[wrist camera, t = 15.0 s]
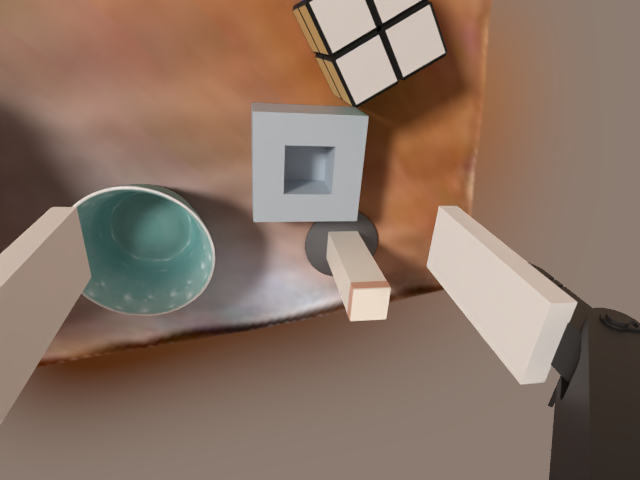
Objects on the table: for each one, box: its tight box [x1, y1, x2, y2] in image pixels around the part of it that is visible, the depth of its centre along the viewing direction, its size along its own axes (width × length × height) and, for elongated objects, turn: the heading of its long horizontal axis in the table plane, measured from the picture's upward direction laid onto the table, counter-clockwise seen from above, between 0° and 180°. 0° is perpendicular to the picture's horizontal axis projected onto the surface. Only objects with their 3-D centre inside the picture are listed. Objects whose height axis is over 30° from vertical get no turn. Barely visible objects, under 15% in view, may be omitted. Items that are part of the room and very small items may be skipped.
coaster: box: [305, 212, 377, 276], centre depth 56 cm, size 10×10×1 cm
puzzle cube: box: [293, 0, 447, 107], centre depth 40 cm, size 10×10×10 cm
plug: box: [326, 231, 391, 321], centre depth 49 cm, size 4×4×14 cm
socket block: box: [251, 103, 369, 222], centre depth 47 cm, size 12×12×6 cm
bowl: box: [72, 184, 216, 316], centre depth 47 cm, size 16×16×8 cm
